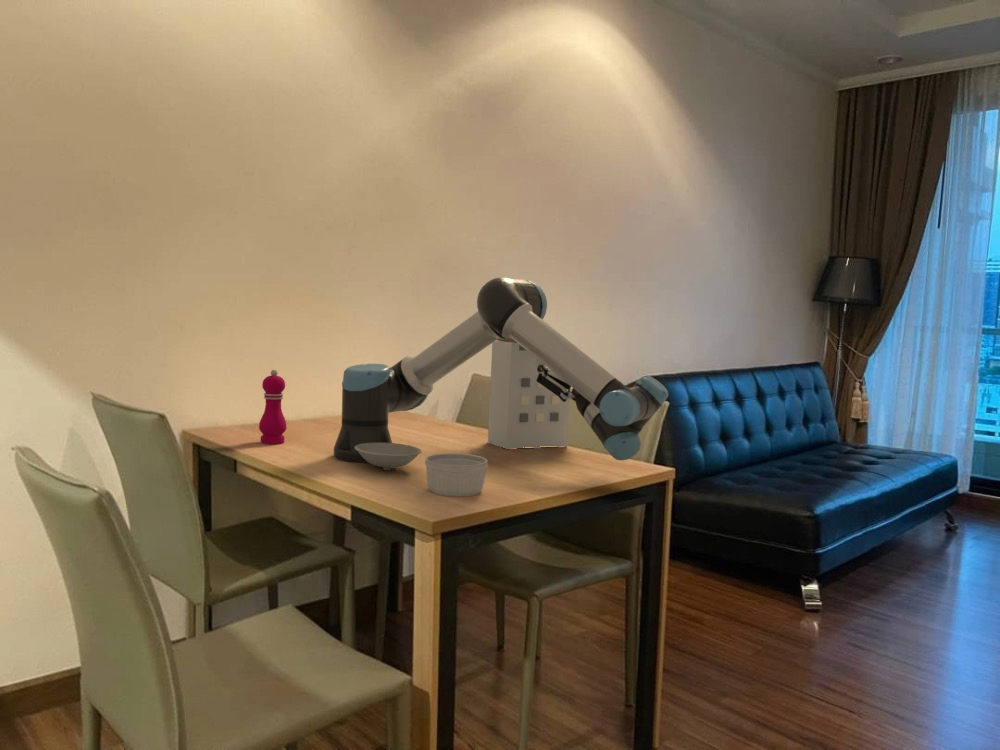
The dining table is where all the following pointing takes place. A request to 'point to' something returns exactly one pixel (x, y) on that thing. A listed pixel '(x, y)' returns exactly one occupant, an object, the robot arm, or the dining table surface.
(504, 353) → the tall patterned block
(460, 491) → the ramekin
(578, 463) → the dining table surface
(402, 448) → the dish
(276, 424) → the pepper mill
